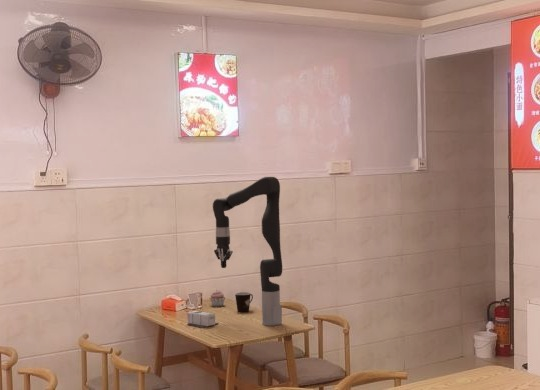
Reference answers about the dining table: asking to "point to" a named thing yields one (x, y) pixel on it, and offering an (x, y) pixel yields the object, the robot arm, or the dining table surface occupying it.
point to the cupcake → (217, 298)
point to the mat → (200, 325)
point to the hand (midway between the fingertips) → (223, 267)
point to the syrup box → (201, 318)
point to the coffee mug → (243, 301)
